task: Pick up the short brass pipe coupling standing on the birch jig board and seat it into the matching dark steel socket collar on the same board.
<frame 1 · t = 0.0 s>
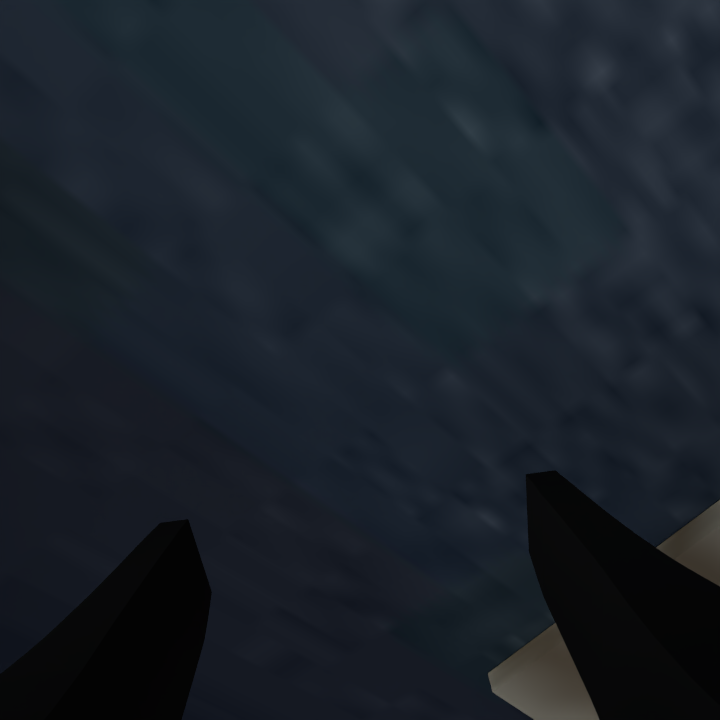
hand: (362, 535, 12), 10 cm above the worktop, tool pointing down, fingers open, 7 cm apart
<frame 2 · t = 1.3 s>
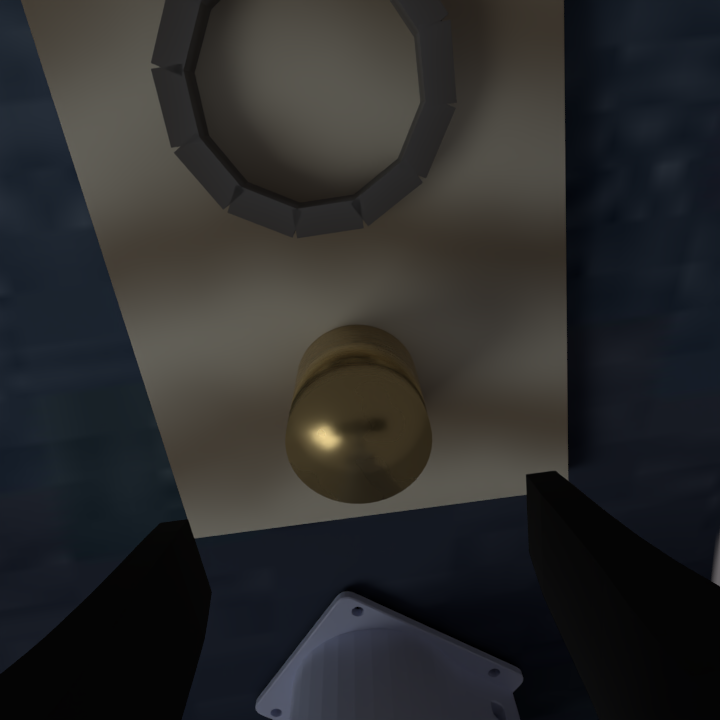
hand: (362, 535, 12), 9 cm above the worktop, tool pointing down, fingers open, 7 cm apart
jig board: (335, 241, 19), on the worktop
brass fitting: (356, 380, 20), point 1 cm above the worktop, touching jig board
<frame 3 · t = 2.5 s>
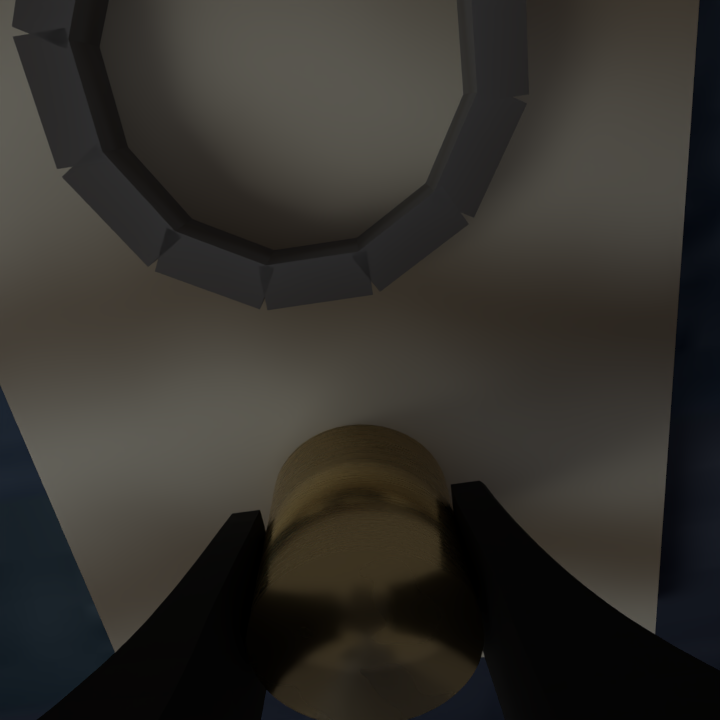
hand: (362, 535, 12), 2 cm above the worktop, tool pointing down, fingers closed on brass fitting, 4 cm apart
jig board: (329, 302, 13), on the worktop
brass fitting: (360, 500, 14), point 1 cm above the worktop, touching gripper, jig board
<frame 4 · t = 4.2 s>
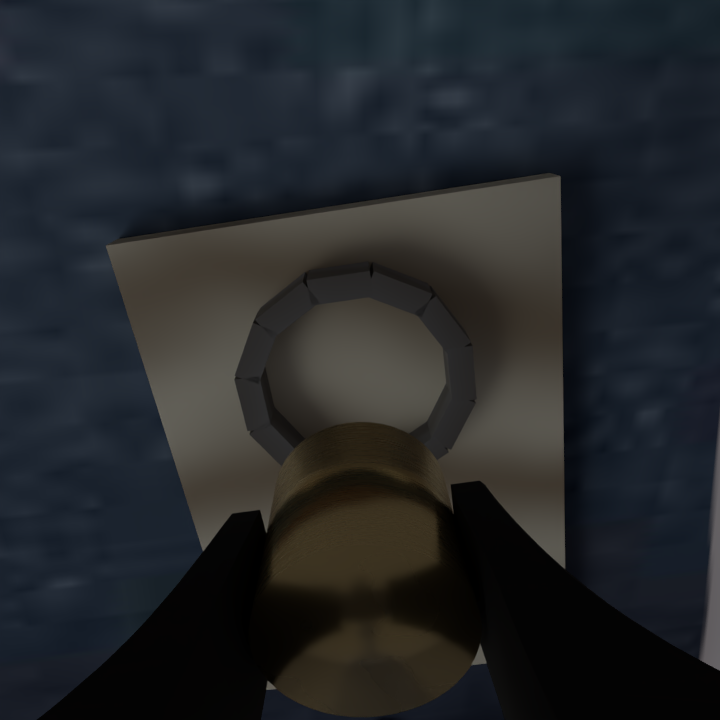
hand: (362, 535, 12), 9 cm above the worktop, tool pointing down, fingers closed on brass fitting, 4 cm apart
jig board: (373, 468, 23), on the worktop
brass fitting: (360, 496, 14), point 8 cm above the worktop, touching gripper
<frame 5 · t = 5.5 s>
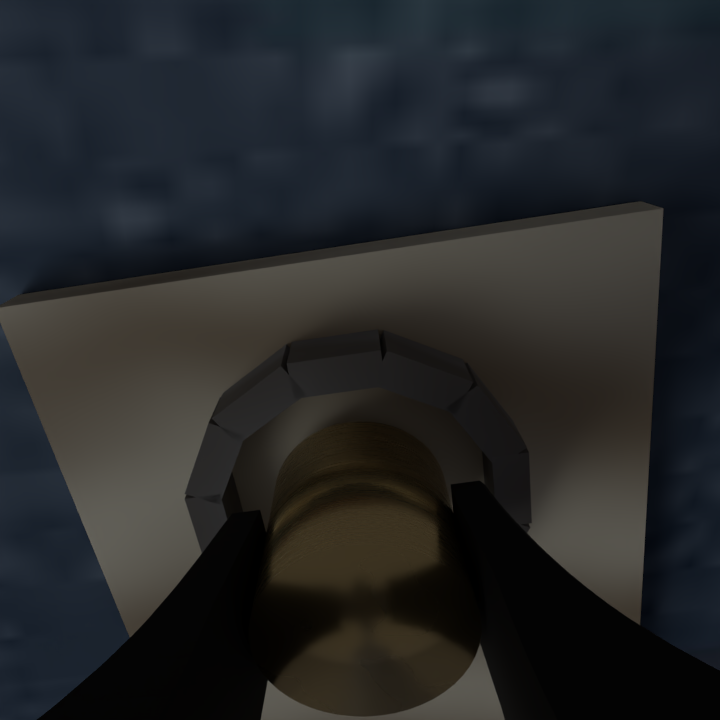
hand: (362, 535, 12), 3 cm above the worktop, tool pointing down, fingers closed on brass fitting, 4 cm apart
jig board: (381, 589, 17), on the worktop
brass fitting: (360, 496, 14), point 2 cm above the worktop, touching gripper
when the fingers open (3 cm above the worktop, at t = 6.2 s): brass fitting stays where it is, resting on jig board.
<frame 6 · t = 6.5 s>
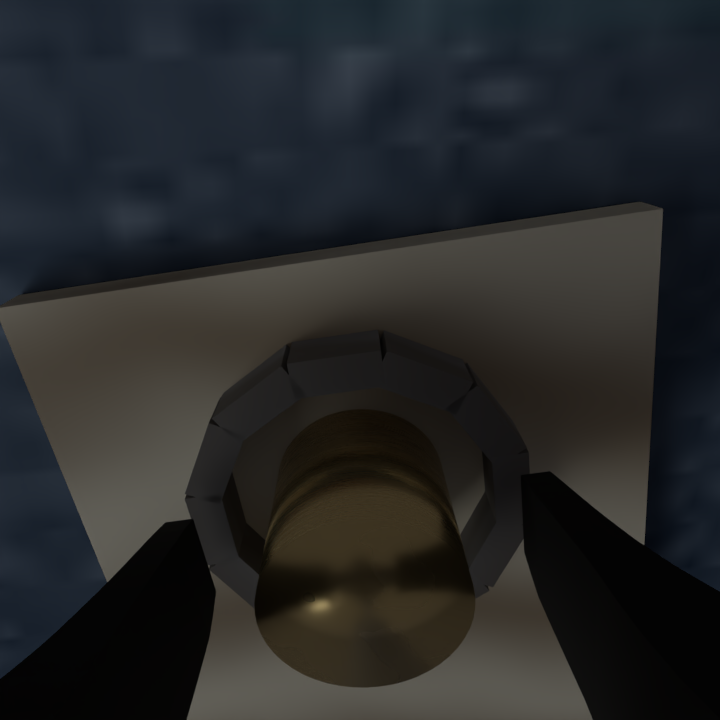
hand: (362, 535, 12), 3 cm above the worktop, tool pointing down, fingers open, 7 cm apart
jig board: (381, 589, 17), on the worktop
brass fitting: (360, 481, 14), point 1 cm above the worktop, touching jig board
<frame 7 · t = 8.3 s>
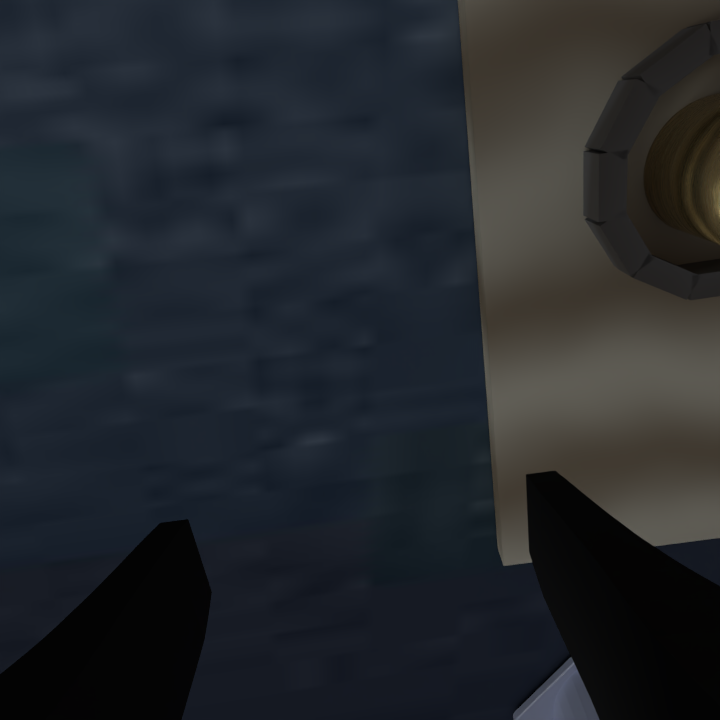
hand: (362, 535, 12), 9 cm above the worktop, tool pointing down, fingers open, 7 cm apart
jig board: (682, 296, 20), on the worktop
brass fitting: (710, 165, 18), point 1 cm above the worktop, touching jig board
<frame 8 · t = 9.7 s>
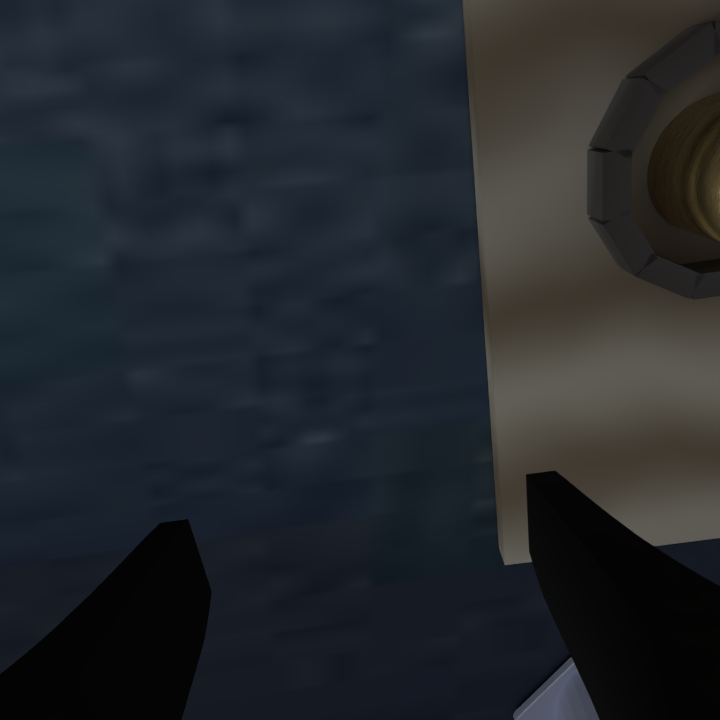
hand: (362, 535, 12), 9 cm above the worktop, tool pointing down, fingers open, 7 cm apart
jig board: (685, 296, 20), on the worktop
brass fitting: (713, 165, 18), point 1 cm above the worktop, touching jig board
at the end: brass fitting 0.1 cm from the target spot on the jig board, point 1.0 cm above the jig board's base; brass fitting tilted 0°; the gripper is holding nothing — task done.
